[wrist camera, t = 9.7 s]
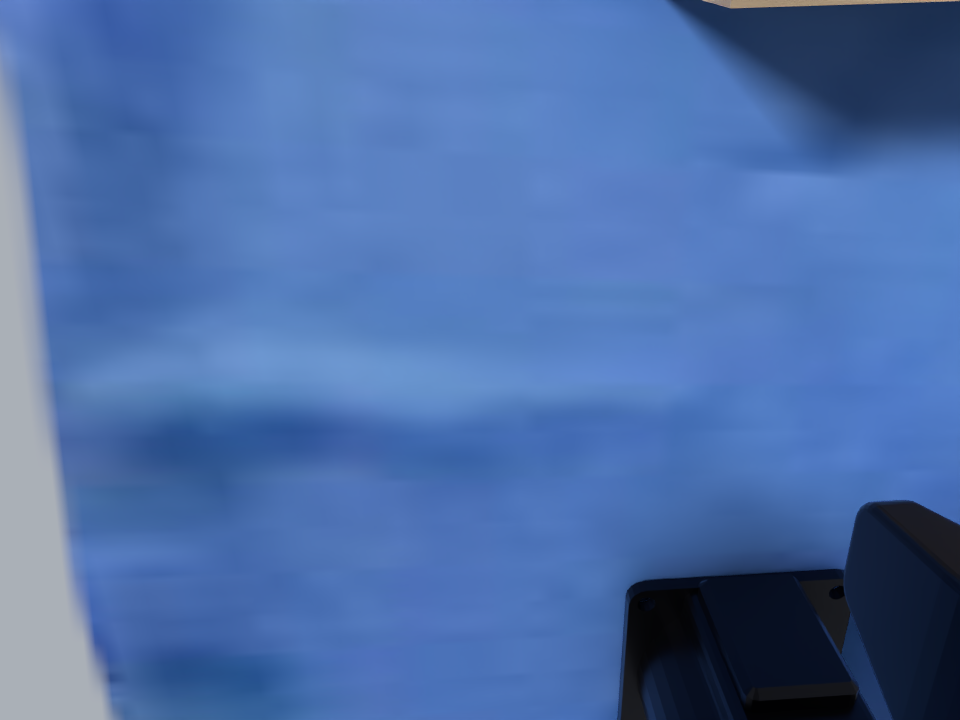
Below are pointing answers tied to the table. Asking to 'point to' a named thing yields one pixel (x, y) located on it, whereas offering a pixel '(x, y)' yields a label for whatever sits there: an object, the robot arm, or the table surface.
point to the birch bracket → (805, 2)
